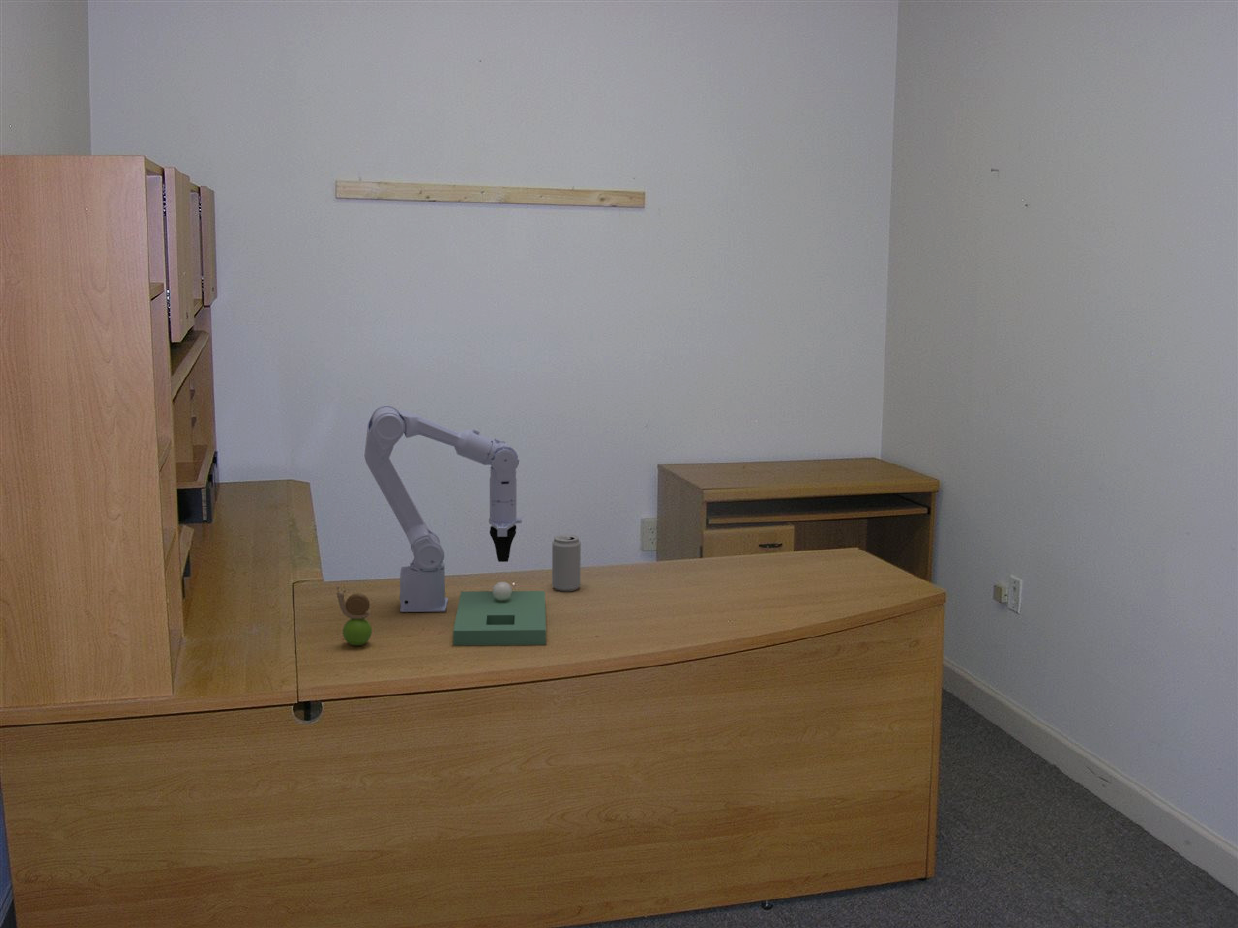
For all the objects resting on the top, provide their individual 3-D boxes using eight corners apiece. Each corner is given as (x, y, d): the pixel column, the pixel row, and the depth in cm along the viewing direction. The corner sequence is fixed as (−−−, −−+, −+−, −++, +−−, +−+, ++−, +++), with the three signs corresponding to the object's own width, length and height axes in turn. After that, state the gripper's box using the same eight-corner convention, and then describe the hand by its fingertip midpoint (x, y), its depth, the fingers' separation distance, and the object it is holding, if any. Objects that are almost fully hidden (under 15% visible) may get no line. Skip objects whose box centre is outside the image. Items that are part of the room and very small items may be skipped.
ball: (492, 603, 229) (492, 585, 228) (493, 597, 233) (493, 579, 232) (511, 603, 229) (511, 585, 228) (511, 597, 233) (511, 579, 232)
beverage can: (576, 593, 246) (577, 542, 243) (548, 591, 247) (549, 539, 245) (583, 584, 252) (583, 534, 249) (556, 582, 253) (556, 532, 251)
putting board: (453, 645, 213) (453, 630, 213) (461, 604, 237) (461, 591, 236) (545, 644, 215) (545, 630, 214) (544, 604, 238) (544, 590, 238)
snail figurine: (340, 639, 215) (338, 581, 213) (373, 639, 216) (372, 581, 213) (336, 649, 210) (333, 590, 208) (370, 649, 211) (368, 589, 208)
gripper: (521, 507, 228) (521, 569, 231) (522, 491, 242) (522, 550, 245) (487, 507, 227) (487, 570, 230) (490, 491, 242) (490, 550, 244)
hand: (503, 560), depth 238 cm, fingers closed
